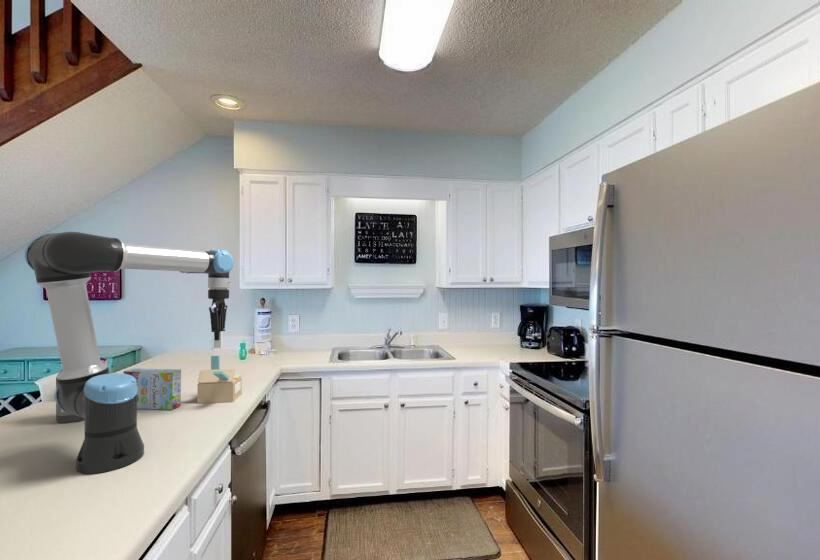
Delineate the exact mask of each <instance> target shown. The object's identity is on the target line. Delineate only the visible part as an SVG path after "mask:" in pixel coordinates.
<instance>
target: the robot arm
mask: <svg viewBox="0 0 820 560" xmlns="http://www.w3.org/2000/svg"><path fill="white" fill-rule="evenodd" d="M24 259H25V262H26V264H27V265H28V266H29V268H31V269H32V270H33V271H34V276H35V280H36V284H37V285H39V286H40V287H43V288H44V289H45V291H46V296H47V299H48V300H47V301H48V305H49V310H50V316H51V319H52V324H53V331H54V335H55V340H56V344H57V349H58V353H59V358H60V359H59V360H60V362H61V368H62V370H60V372H61V373H60V372H59V373H60V374H59V373H58V374H59V375H58V374H57V375H58V376H57V375H56V377H57V380H58V385H59V386H58V387H57V388H56V387H55V392H54V400H55V404H56V403H57V405H58V406H59V407H60V408H61V409H62V410H64V411H65V412H67V413H69V414H73V415H76V416H79V417H82V418H84V420H83V421H84V438H83V442H82V444H81V446H80V449H79V452H78V454H77V457H76V459H75V460H76V461H75V470H76V471H77V472H79V473H82V474H99V473H105V472H111V471H113V470H114V471H115V470H118V469H120V468H123V467H126V466H129V465H131V464H132V463H135V462H137V461H139V460H140V459H141V458H142V457H143V456H144V455H145V443H144V442H143V439H142V437H141V434H140V432H139V430H138V417H137V416H138V409H137V391H138V388H137V383H136V379H135V378H134V377H133V376H131V375H128V374H124V373H115V372H112V373H110V368H109V365H108V363H107V364H105V363H103V362H101V361H100V359H101V356H100V353H99V351H100V350H99V348H98V347H99V346H98V342H97V336H96V331H95V326H94V320H93V315H92V310H91V306H90V305H91V303H90V299H89V295H88V289H87V283H88V282H89V281H90V280H91V279H92V276H91V273H100V272H109V273H110V272H115V273H116V272H118V271H120V270H121V269H125V270H146V271H167V272H179V273H182V274H207V275H208V276H207V277H208V278H207V288H209V289H208V290H207V298H208V299H209V300H211V301H212V303H211V306H209V308H208V311H209V317H210V328H211V333H213V349H223V334H224V333H223V332H225V331H226V329H225V328H226V321H227V320H226V319H227V309H228V305H227V304H226V302H225V300H227V299H230V290H229V288H230V284H231V280H230V271H232V269H233V268H234V264H235V263H234V261H235V260H234V258H233V256H232V255H231V253H230V252H229V251H228V250H224V249H209V250H208V251H207V250H206V251H205V250H197V249H189V248H179V247H169V246H160V245H159V246H158V245H152V244H151V245H150V244H140V243H129V242H123V241H122V240H121V239H120V238H116V237H109V236H104V235H103V236H102V235H96V234H90V233H87V232H81V231H64V232H53V233H45V234H41V235H40V236H37V237H35V238H34V239H33V240H31V241H30V242H29V243H28V245H27V246H26V248H25V251H24Z"/></svg>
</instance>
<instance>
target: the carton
mask: <svg viewBox="0 0 820 560" xmlns="http://www.w3.org/2000/svg"><path fill="white" fill-rule="evenodd" d="M242 376H243V375H241V377H240V378H238V379H234V381H233V382H213V383H198V382H197V404H218V403H219V404H220V403H222V404H223V403H234V402H235V401H236V400H237V399H238V398H239V397H241V396H242V394H243V393H242V390H243V389H242V388H243V386H242V385H243V384H242V383H243V382H242V380H243V377H242Z"/></svg>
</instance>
